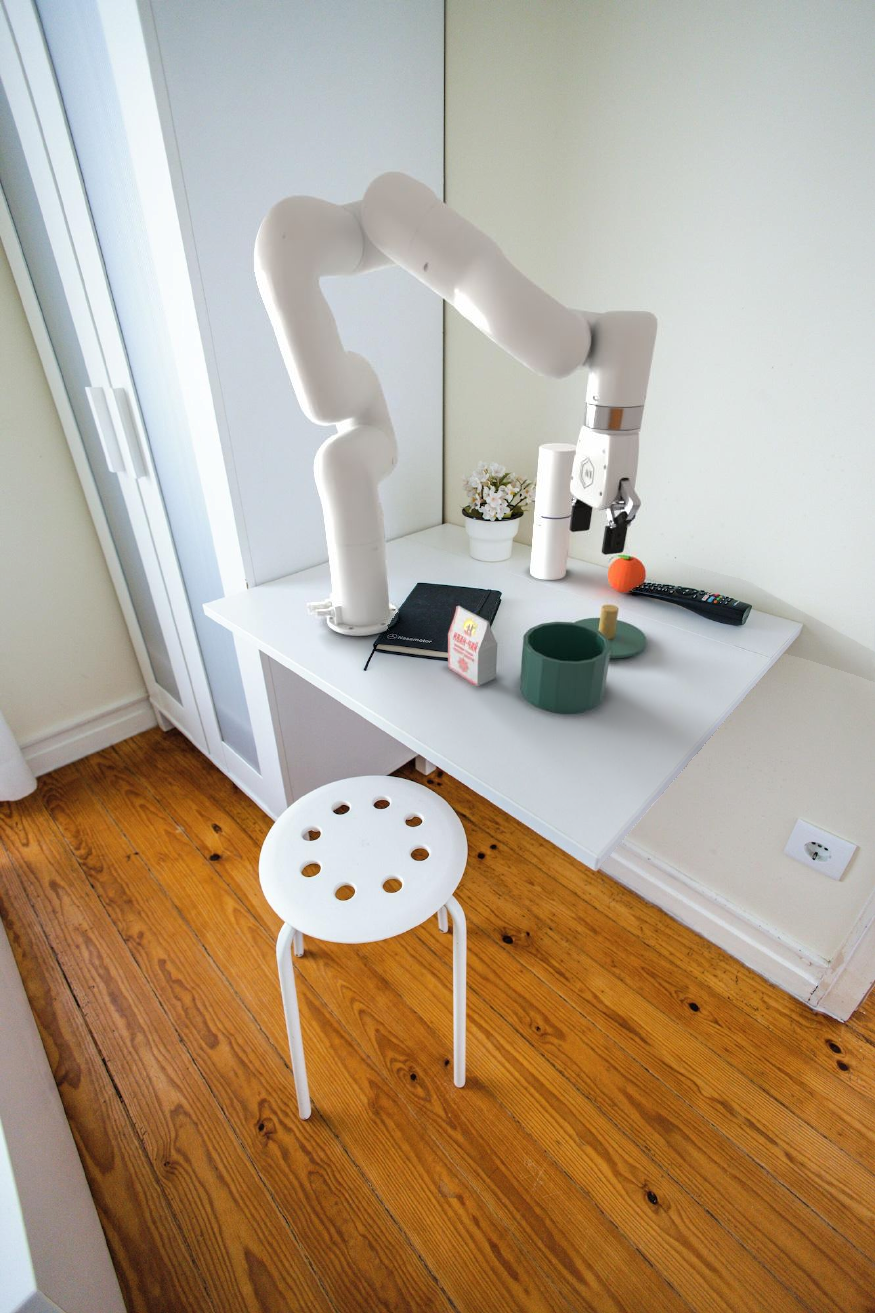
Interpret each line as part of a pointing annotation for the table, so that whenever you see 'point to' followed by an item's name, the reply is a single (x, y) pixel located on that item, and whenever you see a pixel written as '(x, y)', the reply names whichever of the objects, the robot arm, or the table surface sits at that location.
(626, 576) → the clementine
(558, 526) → the cylindrical container
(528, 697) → the tin
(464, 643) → the tea bag
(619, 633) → the tin lid
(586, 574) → the table surface
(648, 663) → the table surface
